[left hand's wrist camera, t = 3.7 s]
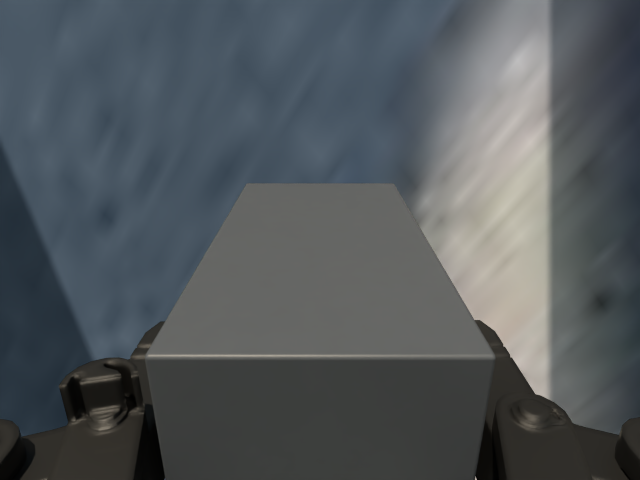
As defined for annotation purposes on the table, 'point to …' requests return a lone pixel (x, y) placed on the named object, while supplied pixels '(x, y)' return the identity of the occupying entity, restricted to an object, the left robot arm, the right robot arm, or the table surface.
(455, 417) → the bar
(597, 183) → the table surface
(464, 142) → the table surface
